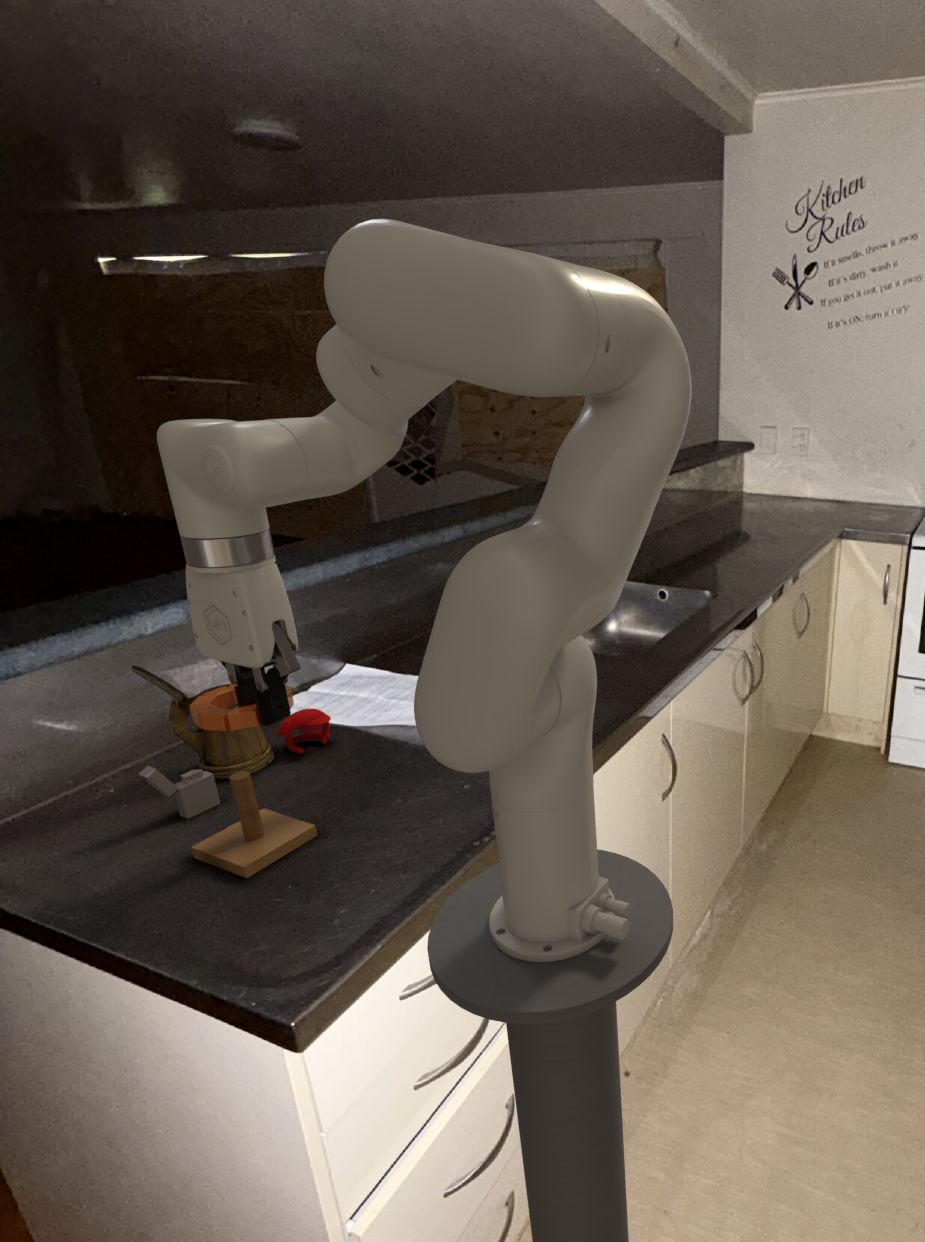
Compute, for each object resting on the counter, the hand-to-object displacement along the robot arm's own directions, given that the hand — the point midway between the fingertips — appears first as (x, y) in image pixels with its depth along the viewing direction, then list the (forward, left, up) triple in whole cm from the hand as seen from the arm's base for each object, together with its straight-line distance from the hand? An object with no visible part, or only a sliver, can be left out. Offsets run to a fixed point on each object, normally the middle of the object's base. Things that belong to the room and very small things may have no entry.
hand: (266, 716), depth 81 cm
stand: (+5, +1, -17) cm, 18 cm away
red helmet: (+21, -19, -17) cm, 33 cm away
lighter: (+19, 0, -17) cm, 26 cm away
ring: (+3, 0, 0) cm, 4 cm away
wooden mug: (+26, -9, -17) cm, 33 cm away
